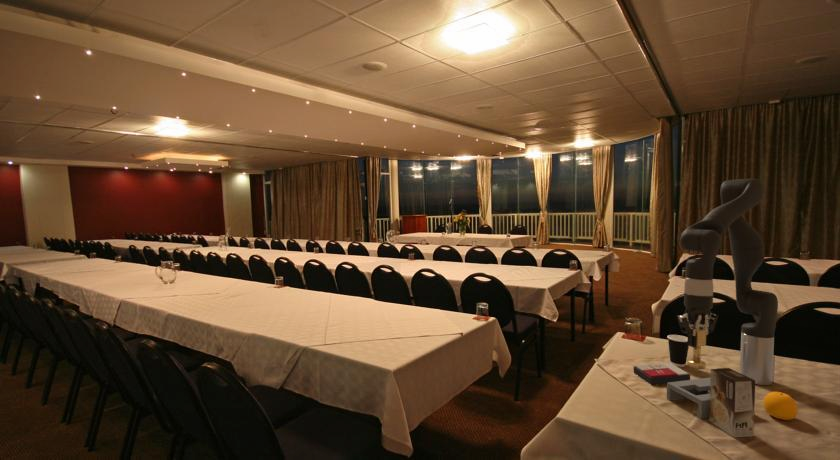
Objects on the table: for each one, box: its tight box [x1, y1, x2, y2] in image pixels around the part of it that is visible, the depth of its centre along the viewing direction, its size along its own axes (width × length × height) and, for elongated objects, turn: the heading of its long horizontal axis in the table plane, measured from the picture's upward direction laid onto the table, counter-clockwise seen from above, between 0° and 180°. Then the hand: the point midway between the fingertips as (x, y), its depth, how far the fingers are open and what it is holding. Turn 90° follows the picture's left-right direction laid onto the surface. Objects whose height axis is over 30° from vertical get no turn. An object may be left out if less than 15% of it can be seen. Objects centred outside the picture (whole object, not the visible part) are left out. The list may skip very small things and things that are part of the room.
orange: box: [762, 391, 799, 421], centre depth 122 cm, size 8×8×8 cm
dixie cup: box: [666, 334, 690, 368], centre depth 163 cm, size 8×8×11 cm
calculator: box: [633, 362, 691, 386], centre depth 151 cm, size 11×4×15 cm
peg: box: [686, 328, 707, 370], centre depth 128 cm, size 5×5×12 cm
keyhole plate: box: [666, 377, 710, 419], centre depth 130 cm, size 18×13×6 cm
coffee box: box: [708, 367, 756, 438], centre depth 116 cm, size 9×6×16 cm
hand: (696, 345), depth 128 cm, fingers closed on peg, 3 cm apart
